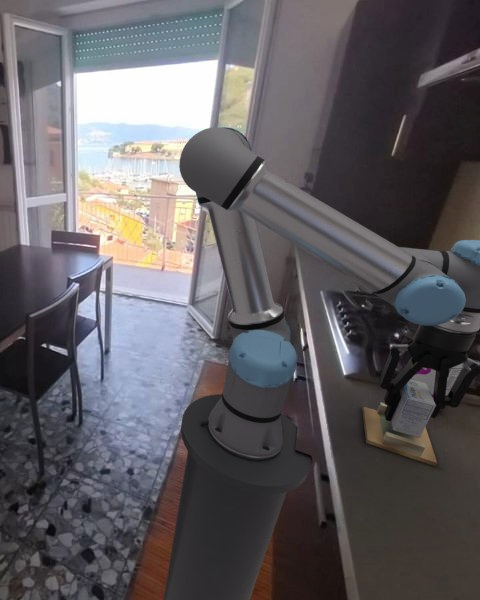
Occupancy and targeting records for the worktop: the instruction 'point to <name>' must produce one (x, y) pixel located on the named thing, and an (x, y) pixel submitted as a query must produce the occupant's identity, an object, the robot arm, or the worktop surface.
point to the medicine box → (413, 409)
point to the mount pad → (396, 437)
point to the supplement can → (429, 377)
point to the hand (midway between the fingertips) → (402, 421)
